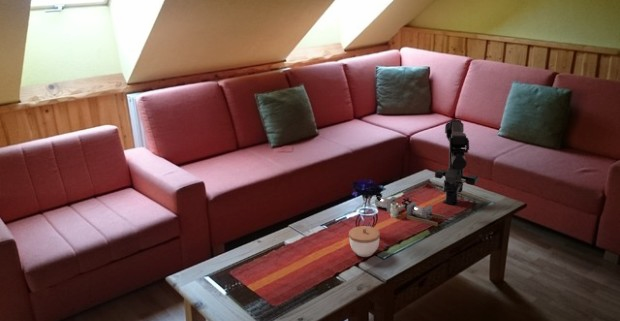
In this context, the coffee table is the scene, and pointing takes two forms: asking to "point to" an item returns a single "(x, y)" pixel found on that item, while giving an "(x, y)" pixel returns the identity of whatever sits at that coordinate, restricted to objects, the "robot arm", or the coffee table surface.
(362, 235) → the lidded bowl
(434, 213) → the cradle rails
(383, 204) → the pipe stub
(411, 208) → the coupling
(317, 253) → the coffee table surface
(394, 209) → the valve
